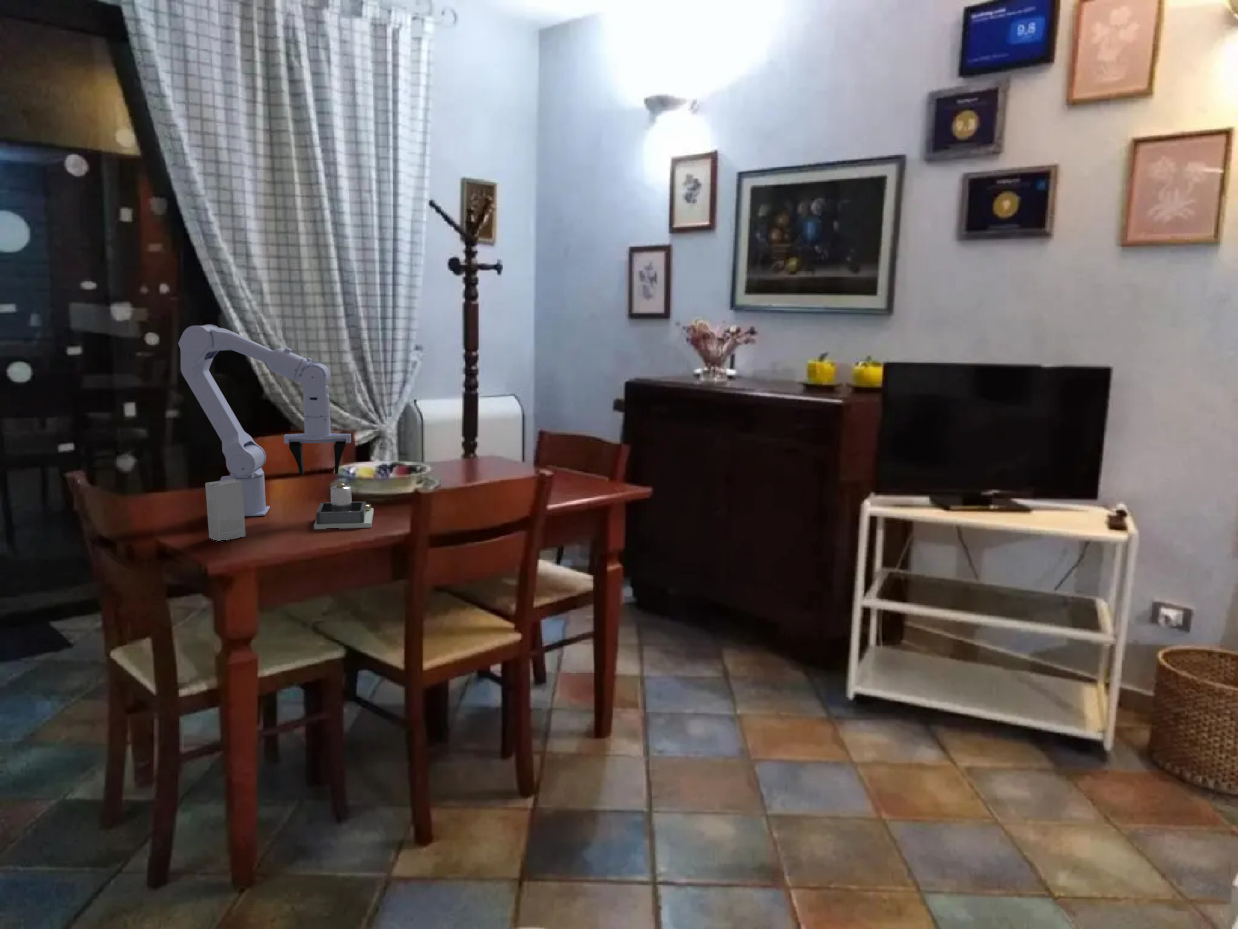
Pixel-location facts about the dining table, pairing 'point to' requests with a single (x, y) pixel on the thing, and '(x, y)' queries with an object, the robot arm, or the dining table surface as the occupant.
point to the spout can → (341, 498)
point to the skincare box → (225, 509)
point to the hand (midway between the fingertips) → (319, 473)
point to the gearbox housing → (344, 516)
